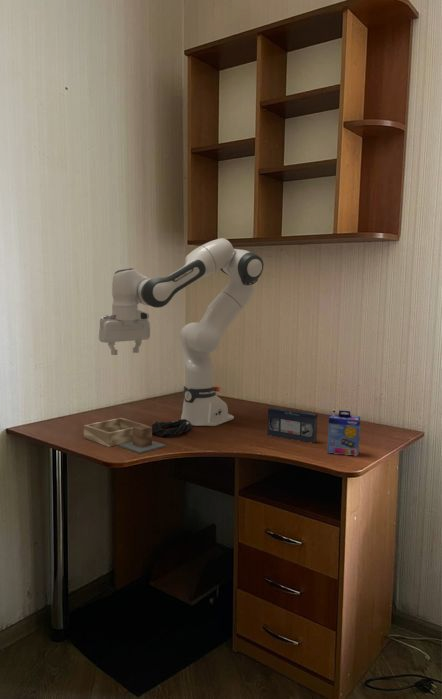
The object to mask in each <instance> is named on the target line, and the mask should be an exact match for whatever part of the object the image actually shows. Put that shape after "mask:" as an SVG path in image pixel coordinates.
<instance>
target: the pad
mask: <svg viewBox="0 0 442 699" xmlns="http://www.w3.org/2000/svg"><path fill="white" fill-rule="evenodd" d="M118 447H119V448H122V449H124V450H128V451H131V452H134V453H135V454H143V453H147V452H152V451H154V450H158V449H161V448H166V447H167V445H166V444H164V443H161V442H158V441H154V440H152V445H149V446H145V447H142V448H141V447H138V446H135V445H133V441H131V442H127V443H123V444H119V445H118Z"/></svg>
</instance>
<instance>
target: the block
mask: <svg viewBox="0 0 442 699" xmlns="http://www.w3.org/2000/svg"><path fill="white" fill-rule="evenodd" d="M146 425H147V424H145V425H140V426H136V427H133V445H135V446H138V447H141V448H142V447H145V446H149V445H152V441H153V431H152V427H153V426H150V425H147V426H146Z"/></svg>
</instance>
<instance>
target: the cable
mask: <svg viewBox="0 0 442 699" xmlns="http://www.w3.org/2000/svg"><path fill="white" fill-rule="evenodd" d="M186 422H189V421H187V420H186V419H181V418H180V419H178V420H174V421H168V422H167V421H161V422H159V421H155V423H152V426H151V427H152V434H154V435H156V436H158V437H166V438H170V437H171V438H172V437H175V436H178V435H179V434H181V433H184V432H186V433H187V432H188V431H190V429H192V426H193V425H191V423H190V422H189V424H187V423H186ZM164 428H165V429H164ZM166 428H167V429H166Z"/></svg>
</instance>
